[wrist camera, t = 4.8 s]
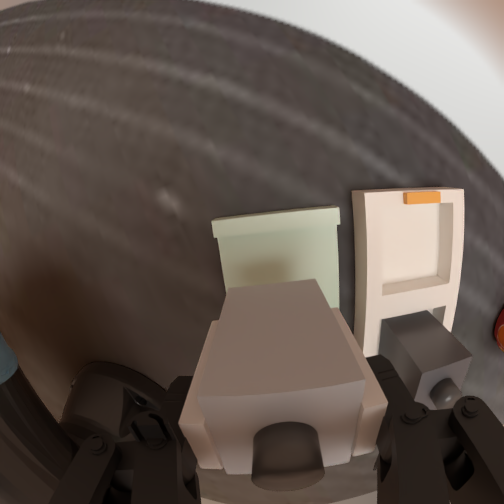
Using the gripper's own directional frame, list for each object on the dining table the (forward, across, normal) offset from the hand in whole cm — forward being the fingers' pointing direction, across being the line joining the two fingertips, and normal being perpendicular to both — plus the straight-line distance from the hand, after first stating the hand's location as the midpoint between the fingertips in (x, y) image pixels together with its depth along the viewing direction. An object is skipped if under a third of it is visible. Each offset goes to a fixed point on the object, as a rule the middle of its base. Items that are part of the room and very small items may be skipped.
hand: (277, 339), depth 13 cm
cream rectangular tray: (+9, +11, -2) cm, 15 cm away
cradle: (+9, +1, 0) cm, 9 cm away
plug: (+2, 0, 0) cm, 2 cm away
